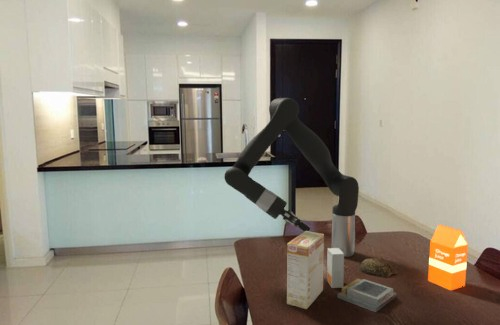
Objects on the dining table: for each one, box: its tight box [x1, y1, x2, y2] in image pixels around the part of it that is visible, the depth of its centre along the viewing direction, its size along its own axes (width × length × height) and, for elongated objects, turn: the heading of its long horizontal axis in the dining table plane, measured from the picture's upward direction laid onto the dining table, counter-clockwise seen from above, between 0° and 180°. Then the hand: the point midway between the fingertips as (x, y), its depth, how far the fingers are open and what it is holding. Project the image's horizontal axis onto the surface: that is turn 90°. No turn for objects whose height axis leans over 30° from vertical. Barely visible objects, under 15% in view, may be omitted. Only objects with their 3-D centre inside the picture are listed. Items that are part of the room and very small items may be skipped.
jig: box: [337, 277, 397, 313], centre depth 121 cm, size 14×13×3 cm
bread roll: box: [359, 257, 398, 278], centre depth 143 cm, size 13×12×5 cm
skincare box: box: [326, 247, 345, 289], centre depth 130 cm, size 6×4×12 cm
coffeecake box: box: [286, 230, 325, 310], centre depth 121 cm, size 15×7×20 cm, turn 150°
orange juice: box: [427, 224, 469, 291], centre depth 131 cm, size 8×9×20 cm
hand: (307, 229), depth 137 cm, fingers open, 8 cm apart
